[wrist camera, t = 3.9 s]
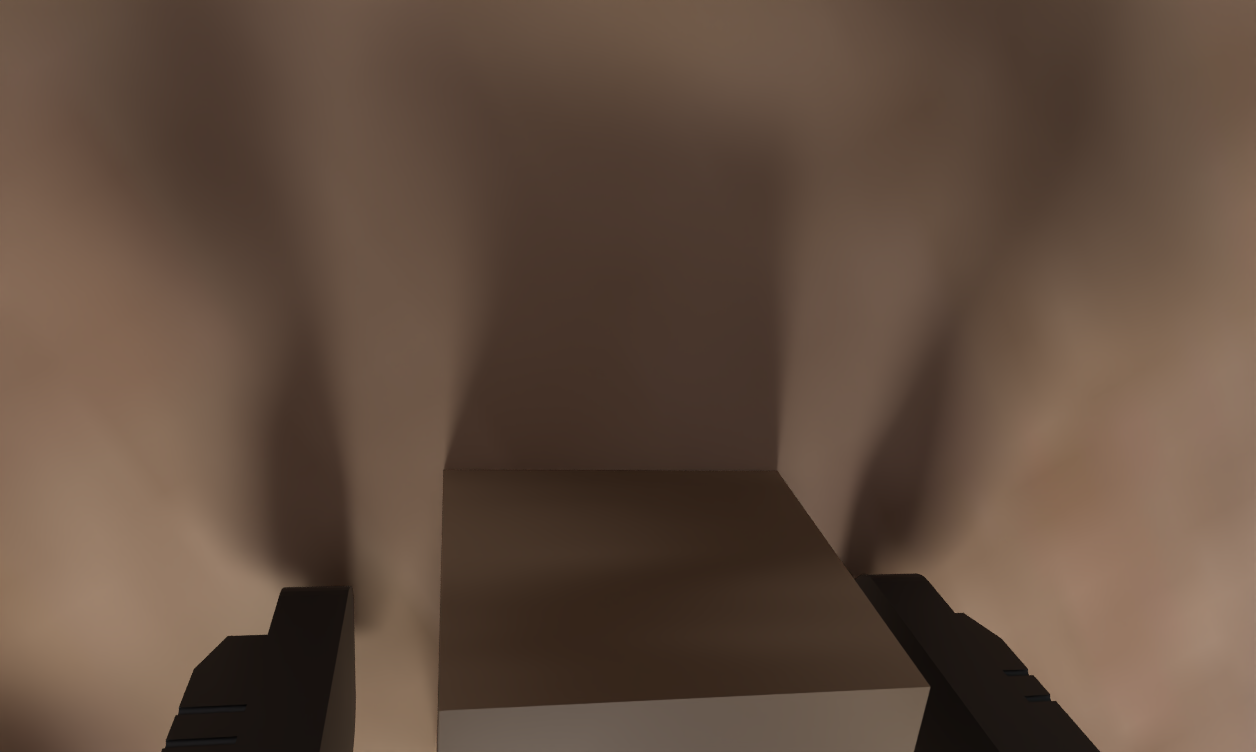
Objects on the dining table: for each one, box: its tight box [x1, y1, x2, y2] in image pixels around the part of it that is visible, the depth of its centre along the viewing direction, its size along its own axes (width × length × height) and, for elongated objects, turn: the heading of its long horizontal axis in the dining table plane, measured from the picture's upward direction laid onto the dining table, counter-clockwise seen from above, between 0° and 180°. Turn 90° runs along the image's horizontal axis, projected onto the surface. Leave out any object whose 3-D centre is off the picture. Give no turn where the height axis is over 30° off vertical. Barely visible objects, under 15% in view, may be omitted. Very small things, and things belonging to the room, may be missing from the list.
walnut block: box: [437, 470, 930, 752], centre depth 10 cm, size 4×4×4 cm
